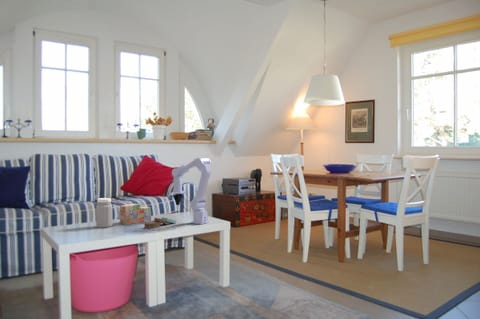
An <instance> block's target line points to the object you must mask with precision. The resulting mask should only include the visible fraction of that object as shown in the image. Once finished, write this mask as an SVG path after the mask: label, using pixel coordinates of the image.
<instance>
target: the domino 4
mask: <svg viewBox="0 0 480 319" xmlns="http://www.w3.org/2000/svg"><path fill="white" fill-rule="evenodd" d="M160 219H163V220H165V221H168V222H169V224H170V223H171V224H174V225H175V224H176V223H177V220H175V219H172V218H168V217H161V218H160Z"/></svg>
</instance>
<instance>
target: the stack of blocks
mask: <svg viewBox="0 0 480 319" xmlns="http://www.w3.org/2000/svg"><path fill="white" fill-rule="evenodd" d="M151 220H152V208H151V206H141V203H131V204H130V203H129V204H124V205H120V206H119V224H120V225H133V224H138V223H143V222H144V223H145V222H147V221H149V222H150V221H151Z"/></svg>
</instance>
